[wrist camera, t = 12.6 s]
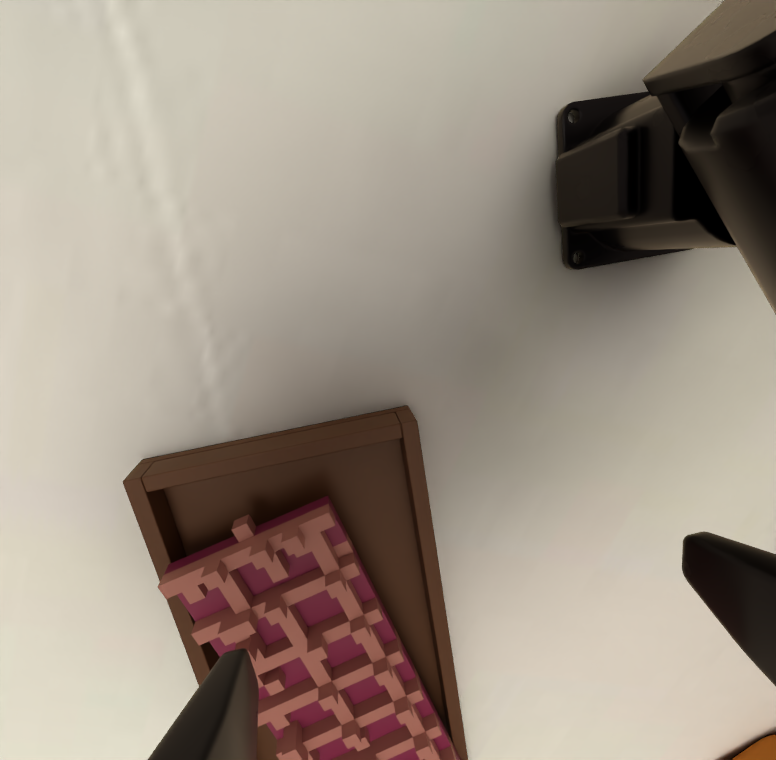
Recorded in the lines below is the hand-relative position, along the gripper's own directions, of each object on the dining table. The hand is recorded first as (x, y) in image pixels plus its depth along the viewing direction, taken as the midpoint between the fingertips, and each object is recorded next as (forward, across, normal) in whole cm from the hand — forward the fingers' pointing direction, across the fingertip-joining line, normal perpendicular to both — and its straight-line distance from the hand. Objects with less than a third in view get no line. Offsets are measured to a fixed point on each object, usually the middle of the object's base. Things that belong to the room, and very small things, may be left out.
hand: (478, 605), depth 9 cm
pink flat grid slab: (+10, +5, +12) cm, 16 cm away
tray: (+12, +5, +12) cm, 18 cm away
